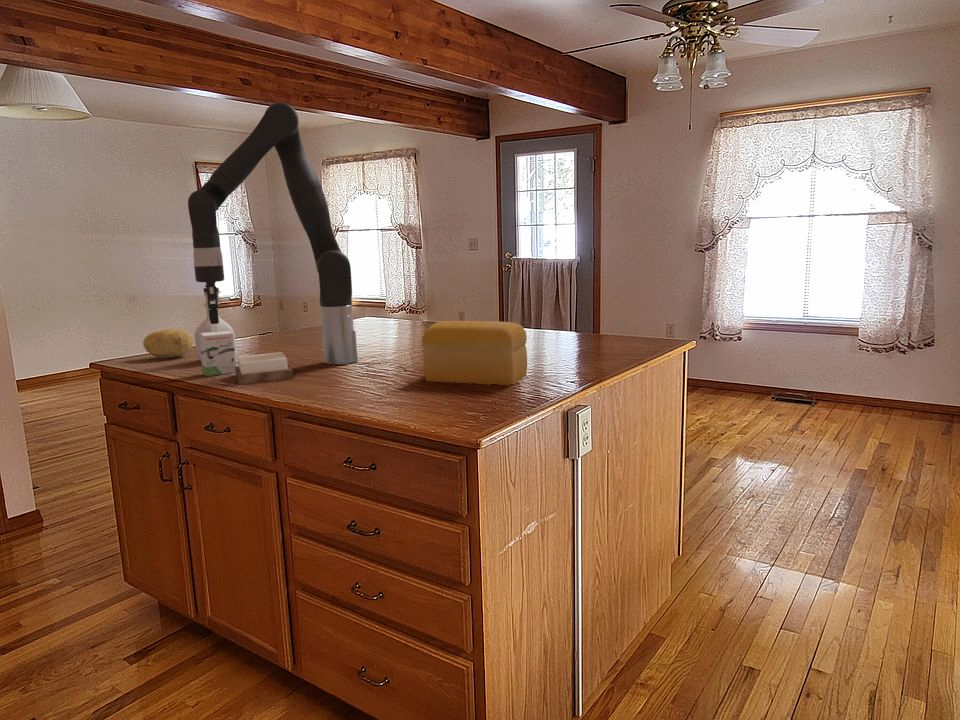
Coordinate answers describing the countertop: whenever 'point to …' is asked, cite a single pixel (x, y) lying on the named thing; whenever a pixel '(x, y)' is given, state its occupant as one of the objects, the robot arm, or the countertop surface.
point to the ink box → (217, 353)
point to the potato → (168, 343)
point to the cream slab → (262, 363)
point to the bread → (475, 352)
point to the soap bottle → (211, 330)
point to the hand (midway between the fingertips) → (214, 322)
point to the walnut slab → (263, 376)
